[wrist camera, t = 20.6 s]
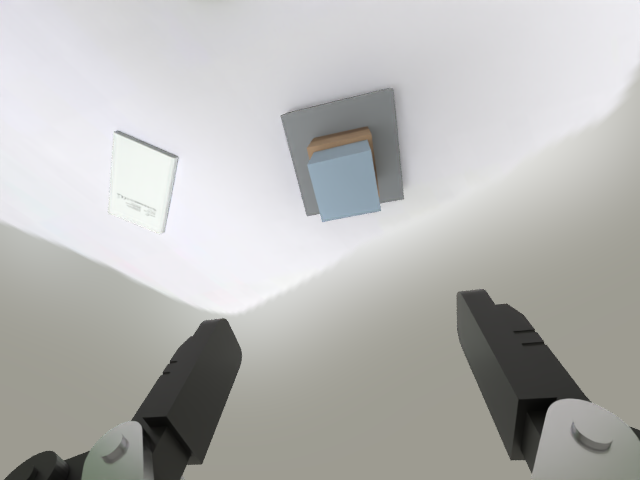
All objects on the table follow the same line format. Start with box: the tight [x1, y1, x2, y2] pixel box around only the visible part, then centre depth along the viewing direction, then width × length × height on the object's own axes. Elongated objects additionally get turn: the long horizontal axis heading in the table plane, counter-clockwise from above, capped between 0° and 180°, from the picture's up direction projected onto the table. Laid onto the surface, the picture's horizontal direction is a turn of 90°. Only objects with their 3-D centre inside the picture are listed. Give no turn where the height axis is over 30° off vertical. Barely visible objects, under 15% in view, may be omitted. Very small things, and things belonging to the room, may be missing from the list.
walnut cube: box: [307, 126, 380, 197], centre depth 30 cm, size 6×6×6 cm
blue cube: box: [307, 140, 381, 222], centre depth 26 cm, size 5×5×5 cm
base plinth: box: [281, 88, 404, 216], centre depth 35 cm, size 12×12×4 cm
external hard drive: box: [108, 131, 178, 234], centre depth 41 cm, size 2×8×12 cm
